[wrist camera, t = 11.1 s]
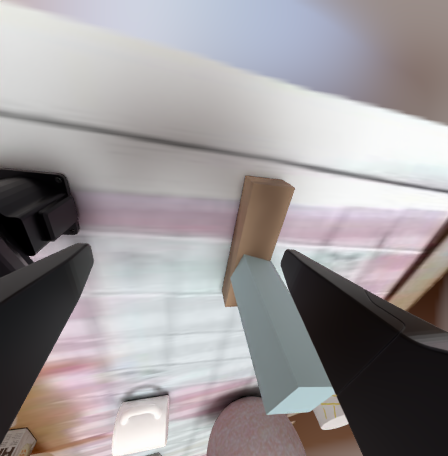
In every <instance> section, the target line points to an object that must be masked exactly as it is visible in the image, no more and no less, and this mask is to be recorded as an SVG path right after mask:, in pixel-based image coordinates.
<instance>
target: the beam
mask: <svg viewBox="0 0 448 456" xmlns="http://www.w3.org/2000/svg"><path fill="white" fill-rule="evenodd" d="M294 190H295V188H294V187H293V186H291V185H290V184H288V183H287V182H285V181H283V180H279V179H271V178H262V177H254V176H245V181H244V186H243V190H242V195H241V200H240V205H239V210H238V215H237V220H236V225H235V229H234V234H233V239H232V244H231V249H230V254H229V259H228V264H227V269H226V273H225V278H224V283H223V288H222V293H223V298H224V303H225V307H233V306H237V302H236V298H235V294H234V291H233V287H232V283H231V279H230V278H231V276H232V274H233V272H234V271H235V269H236V267H237V265H238V264H239V262H240V260H241V258H242V257H243V255H244V254H245V255H249V256H252V257H256V258H260V259H264V260H268V261H270V260H271V257H272V254H273V251H274V248H275V245H276V242H277V239H278V236H279V233H280V231H281V228H282V225H283V222H284V219H285V216H286V213H287V210H288V207H289V204H290V201H291V198H292V196H293V193H294Z"/></svg>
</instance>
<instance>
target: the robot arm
mask: <svg viewBox="0 0 448 456" xmlns="http://www.w3.org/2000/svg"><path fill="white" fill-rule="evenodd" d="M57 177H58V178H60V179H61V181H59V180H58V179H57ZM77 220H78V215H77V211H76V208H75V204H74V200H73V197H72V196H71V194H70V190H69V186H68V182H67V179H66V177H65V176H64V175H62V174H59V173H49V172H39V171H28V170H18V169H8V168H0V445H1V443H2V442H3V440H4V438H5V436H6V434H7V432H8V430H9V429H10V427H11V425H12V423H13V421H14V419H15V417H16V416H17V414H18V412H19V410H20V408H21V406H22V404H23V403H24V401H25V399H26V397H27V395H28V393H29V391H30V390H31V388H32V386H33V384H34V382H35V380H36V378H37V377H38V375H39V373H40V371H41V369H42V367H43V365H44V364H45V362H46V360H47V358H48V356H49V354H50V352H51V351H52V349H53V347H54V345H55V343H56V341H57V339H58V338H59V336H60V334H61V332H62V330H63V328H64V326H65V325H66V323H67V321H68V319H69V317H70V315H71V313H72V312H73V310H74V308H75V306H76V304H77V302H78V300H79V298H80V296H81V294H82V291H83V289H84V286H85V284H86V281H87V279H88V276H89V274H90V271H91V268H92V266H93V262H94V259H93V255H92V250H91V246H90V245H89V244H88V243H77V244H74V245H72V246H70V247H68V248H65V249H63V250H61V251H59V252H56V253H54V254H52V255H50V256H48V257H45V258H43V259H41V260H39V261H37V262H33V261H32V260H31V259H30V257H29V256H34V255H35V254H36V253H38V252H39V251H40V250H41V249H42V248H43V247H44V246H46V245H47V244H48V243H49V242H50V241H53V242H54V241H55V240H56V239H57V238H59V237H60V236H61V235H62V234H65V235H75V234H77V233H78V232H79V225H78V222H77ZM72 229H74V230H75V231H73V230H72ZM281 268H282V271H283V274H284V277H285V280H286V283H287V286H288V289H289V292H290V294H291V296H292V299H293V301H294V303H295V305H296V308H297V310H298V312H299V314H300V316H301V319H302V321H303V323H304V325H305V328H306V330H307V332H308V334H309V336H310V339H311V341H312V343H313V345H314V348H315V350H316V352H317V354H318V356H319V359H320V361H321V363H322V365H323V367H324V370H325V372H326V374H327V376H328V379H329V381H330V383H331V385H332V387H333V390H334V392H335V394H336V395H337V399H338V401H339V403H340V406H341V408H342V410H343V412H344V414H345V417H346V419H347V421H348V423H349V425H350V428H351V430H352V432H353V434H354V437H355V439H356V441H357V443H358V445H359V448H360V450H361V452H362V454H363V456H448V332H446V331H444V330H442V329H440V328H438V327H436V326H434V325H432V324H430V323H428V322H426V321H424V320H422V319H420V318H418V317H416V316H414V315H412V314H410V313H408V312H406V311H404V310H403V309H401V308H399V307H397V306H395V305H393V304H391V303H389V302H387V301H385V300H383V299H382V298H380V297H378V296H376V295H374V294H373V293H371V292H369V291H367V290H365V289H363V288H362V287H360V286H358V285H356V284H355V283H353V282H351V281H349V280H347V279H346V278H344V277H342V276H340V275H339V274H337V273H335V272H333V271H331V270H330V269H328V268H326V267H324V266H322V265H321V264H319V263H317V262H315V261H314V260H312V259H310V258H308V257H306V256H305V255H303V254H301V253H299V252H297V251H296V250H290V249H287V250H286V251H285V253H284V255H283V258H282V260H281Z"/></svg>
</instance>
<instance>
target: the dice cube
mask: <svg viewBox="0 0 448 456" xmlns="http://www.w3.org/2000/svg"><path fill="white" fill-rule="evenodd" d="M147 456H162V455H161V454H160V453H159V452H158V453H154V454H151V455H147Z"/></svg>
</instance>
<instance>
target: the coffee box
mask: <svg viewBox="0 0 448 456" xmlns="http://www.w3.org/2000/svg"><path fill="white" fill-rule="evenodd" d="M35 443H36V440H35V438H34V437H33V436H32V434H31V433H30V432H29V431H28V429H26V428H24V429H17V430H9V431H8V432H7V434H6V436H5V438H4V440H3V442H2V443H1V445H0V456H30V454H31V452H32V450H33V447H34V445H35Z"/></svg>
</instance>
